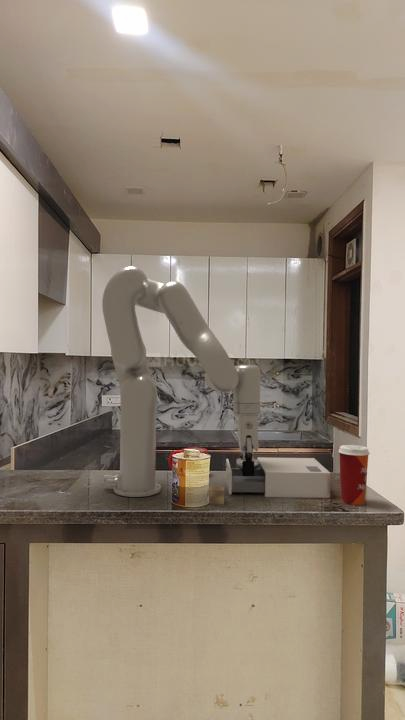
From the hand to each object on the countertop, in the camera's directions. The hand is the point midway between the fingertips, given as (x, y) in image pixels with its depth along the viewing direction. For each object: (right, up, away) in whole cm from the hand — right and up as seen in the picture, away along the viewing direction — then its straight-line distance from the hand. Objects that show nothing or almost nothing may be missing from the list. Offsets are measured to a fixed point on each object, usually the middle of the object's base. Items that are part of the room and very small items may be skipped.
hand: (246, 472), depth 132 cm
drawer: (+3, -4, 0) cm, 5 cm away
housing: (+12, -4, 0) cm, 13 cm away
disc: (0, +1, 0) cm, 1 cm away
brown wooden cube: (-9, -4, -14) cm, 17 cm away
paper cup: (+26, -5, -12) cm, 29 cm away
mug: (-17, -4, +13) cm, 22 cm away
